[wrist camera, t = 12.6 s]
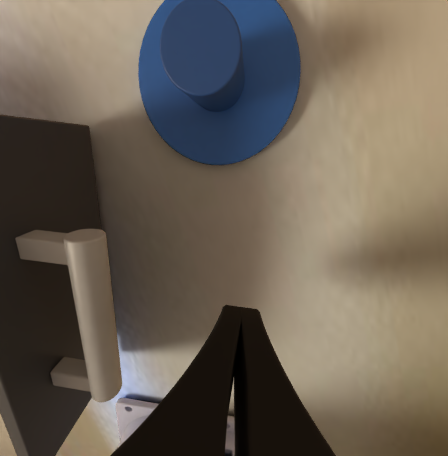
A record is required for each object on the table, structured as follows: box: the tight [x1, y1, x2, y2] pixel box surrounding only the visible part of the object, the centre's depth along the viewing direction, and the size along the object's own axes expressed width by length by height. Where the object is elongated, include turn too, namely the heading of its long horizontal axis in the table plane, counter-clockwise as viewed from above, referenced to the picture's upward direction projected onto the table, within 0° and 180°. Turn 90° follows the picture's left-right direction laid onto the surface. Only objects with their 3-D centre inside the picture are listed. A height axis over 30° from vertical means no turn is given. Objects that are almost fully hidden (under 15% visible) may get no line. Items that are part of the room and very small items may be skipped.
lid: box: [139, 0, 300, 165], centre depth 8 cm, size 6×6×4 cm
